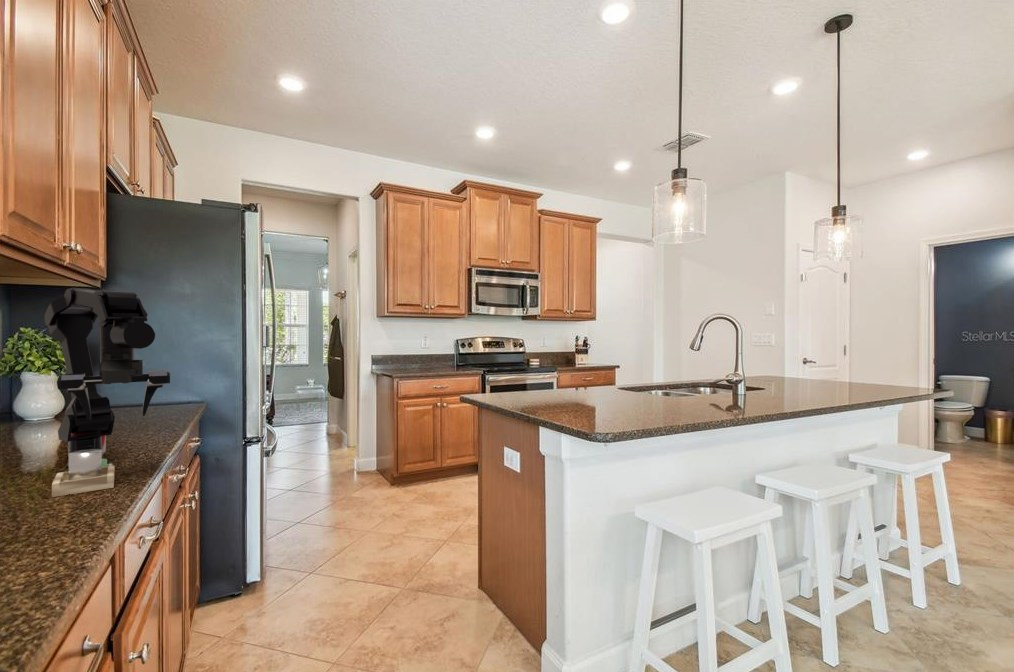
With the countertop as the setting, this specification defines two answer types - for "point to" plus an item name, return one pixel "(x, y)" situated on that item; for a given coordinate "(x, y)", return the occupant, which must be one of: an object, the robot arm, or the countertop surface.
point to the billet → (85, 464)
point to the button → (104, 462)
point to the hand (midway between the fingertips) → (117, 417)
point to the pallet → (82, 482)
